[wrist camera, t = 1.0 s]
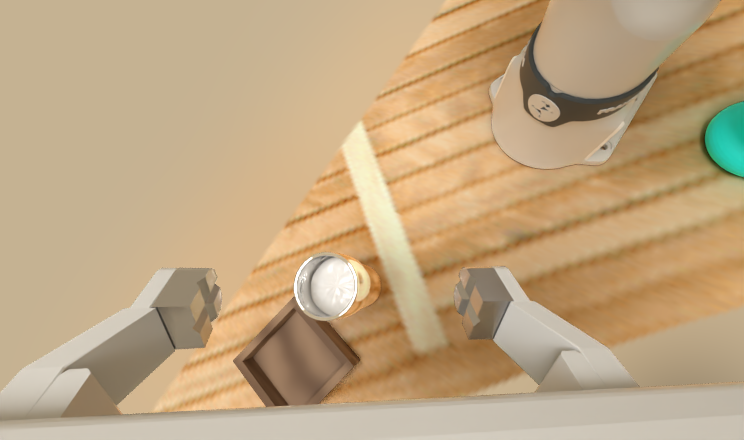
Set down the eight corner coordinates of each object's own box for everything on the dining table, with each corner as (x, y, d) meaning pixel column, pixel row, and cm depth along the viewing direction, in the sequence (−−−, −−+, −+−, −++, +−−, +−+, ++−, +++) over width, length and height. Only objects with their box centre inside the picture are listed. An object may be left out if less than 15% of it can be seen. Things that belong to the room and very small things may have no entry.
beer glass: (327, 285, 45) (277, 284, 31) (361, 251, 45) (327, 235, 31) (359, 321, 43) (322, 339, 29) (394, 286, 43) (374, 286, 29)
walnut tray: (304, 295, 46) (294, 296, 42) (360, 359, 42) (353, 366, 39) (247, 355, 45) (232, 360, 42) (299, 424, 42) (287, 436, 39)
